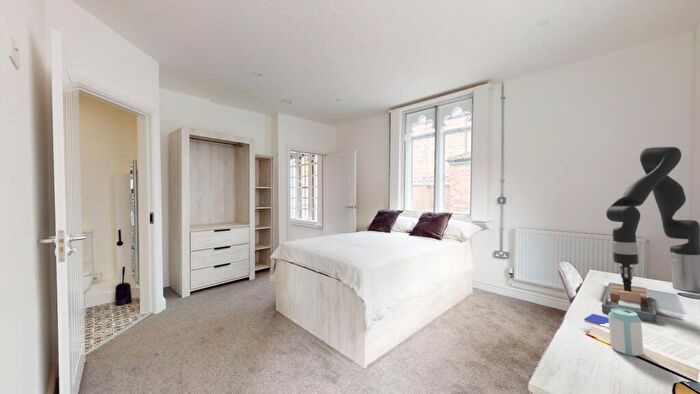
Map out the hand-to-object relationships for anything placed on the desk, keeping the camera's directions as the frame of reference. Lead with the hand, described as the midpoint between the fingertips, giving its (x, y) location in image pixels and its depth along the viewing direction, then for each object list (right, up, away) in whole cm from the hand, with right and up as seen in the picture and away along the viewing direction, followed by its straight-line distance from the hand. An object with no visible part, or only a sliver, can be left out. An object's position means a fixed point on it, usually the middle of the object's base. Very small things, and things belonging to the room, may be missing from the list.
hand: (627, 292), depth 116 cm
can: (-35, -6, -34) cm, 49 cm away
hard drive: (-24, -7, -17) cm, 30 cm away
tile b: (-7, -2, -7) cm, 11 cm away
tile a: (-3, -2, -3) cm, 4 cm away
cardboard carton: (+5, -5, +5) cm, 9 cm away
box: (-7, -5, -7) cm, 11 cm away
